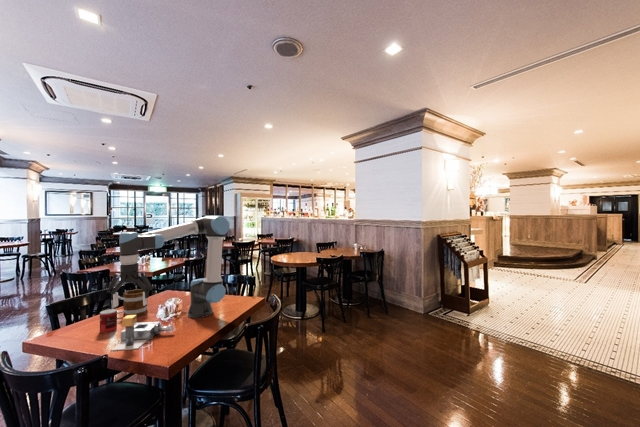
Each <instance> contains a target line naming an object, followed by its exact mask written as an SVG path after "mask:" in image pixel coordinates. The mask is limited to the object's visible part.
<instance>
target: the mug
mask: <svg viewBox="0 0 640 427" xmlns="http://www.w3.org/2000/svg"><path fill="white" fill-rule="evenodd" d="M143 292H144V291H143V290H142V289H141V288H140V289H139V288H137V289H132V290H131V289H130V290H127V291H125V292H122V294H123V295H122V296H123V297H122V296H120V295H118V300H123V302H122V303H123V304H122V306H123V307H122V308H123V310H120V311H117V315H119V314H122V313H123V314H122V316H123V318H124V317H125V316H127V315H137V318H140V317H142V316H145V315H147V314H148V299H147V304H146V305H145V306H143ZM110 302H111V309H115V307H113V300H112V299H111V300H110Z"/></svg>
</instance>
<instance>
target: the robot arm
mask: <svg viewBox="0 0 640 427" xmlns="http://www.w3.org/2000/svg"><path fill="white" fill-rule="evenodd" d="M230 225H231V224H230V222H229V220H228V219H227V218H226V217H224V216H222V215H206V216H203V217H198V218H196V219H195V218H194V219H192V220H191V221H190V222H186V223H181V224H177V225H173V226H169V227H164V228H160V229H155V230H152V231H151V230H150V231H145V232H142V233H139V232H135V231H131V232H122V233H120V234H119V238H118V239H119V242H118V243H119V244H118V245H119V263H120V265H119V266H120V267H119V269H120V273H118V272H116V273H114V274H113V276H112V280H111V282H110V284H109V286H108V288H107V290H106V293H107V294H111V295H110V296H111V297H110V298H111V300H113V307H114V308H117V307H118V306H119V298H118V296H119V292H118V291H119V289H120V288H121V287H122V286H123V285H124V283H135V284H137V286H138V287H139V288H140V289H142V290H143V291H144V292H143V306H145V305H146V304H147V305H148V303H147V300H148V298H149V297H150V291H152V290H153V289H154V287H153V286H152V283H151V282H150V279H148V278H149V277H148V276H147V275H146V274H147V272H146V271H143V272H140V271H139V267H140V266H139V263H138V262H139V251H144V250H145V251H146V250H153V249H156V250H157V249H160V248H162V247H163V246H164V244H165V242H167V241H171V240H175V239H178V238H182V237H185V236H189V235H198V234H199V235H201V234H205V238H206V239H207V241H208V242H207V254H206V255H207V256H206V269H205V270H206V271H205V272H206V273H205V277H204V278H203V277H202V278H197V279H193V280H191V281H190V286H189V287H190V305H189V308H188V310H187V317H189V318H192V319H201V318H204V317H205V318H206V317H208V316H210V315H212V314H213V312H214V311H213V310H214V309H213V306H212V304H217V303H219V302H221V301H222V299H224V297H225V295H226V292H227V291H226V290H227V289H226V286H224V285H223V278H222V277H221V276H222V275H221V273H222V259H223V258H222V257H223V255H222V254H223V241H224V240H225V239H226V234H227V233H228V232H229V230H230V227H231V226H230ZM139 277H140V278H139ZM119 278H121V279H120V281H119V282H118V280H119ZM117 282H118V283H117Z"/></svg>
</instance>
